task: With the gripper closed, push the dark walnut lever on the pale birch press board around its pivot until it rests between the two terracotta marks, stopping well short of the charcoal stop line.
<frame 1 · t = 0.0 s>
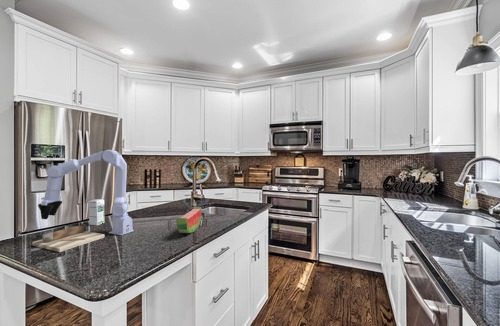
hand: (48, 217, 117), 11 cm above the counter, tool pointing down, fingers open, 7 cm apart
press board: (70, 241, 114), on the counter
lever: (65, 232, 115), point 4 cm above the counter, hinge at 0.0°
fruit slice: (190, 230, 131), on the counter
syrup box: (97, 224, 143), on the counter
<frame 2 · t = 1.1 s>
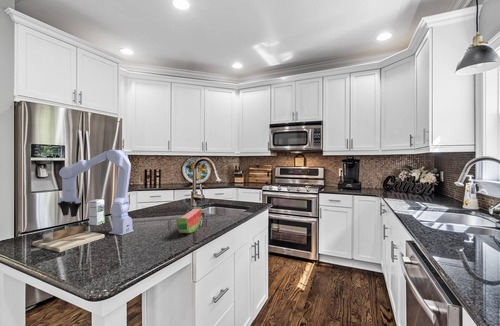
hand: (69, 215, 124), 9 cm above the counter, tool pointing down, fingers open, 6 cm apart
nothing on the counter moved.
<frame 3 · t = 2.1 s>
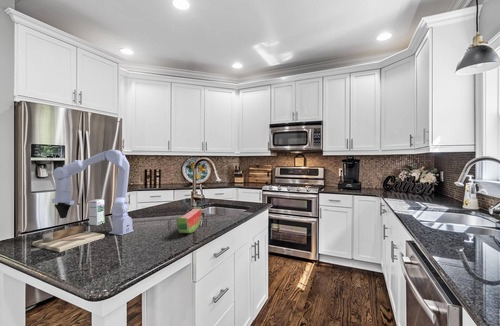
hand: (63, 217, 120), 9 cm above the counter, tool pointing down, fingers closed
nothing on the counter moved.
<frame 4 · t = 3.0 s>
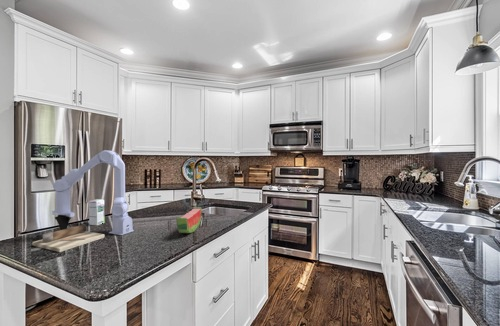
hand: (63, 229, 120), 3 cm above the counter, tool pointing down, fingers closed
nothing on the counter moved.
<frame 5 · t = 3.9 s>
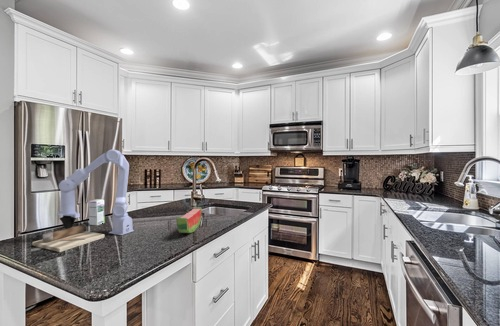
hand: (68, 230, 119), 3 cm above the counter, tool pointing down, fingers closed, pressing on lever
lever: (65, 232, 115), point 4 cm above the counter, hinge at 0.0°, touching gripper
everything else where it was.
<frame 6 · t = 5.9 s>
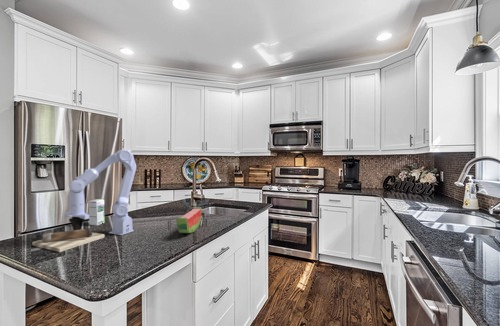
hand: (77, 232, 116), 3 cm above the counter, tool pointing down, fingers closed
lever: (68, 234, 112), point 4 cm above the counter, hinge at 38.6°, touching gripper
everything else where it was.
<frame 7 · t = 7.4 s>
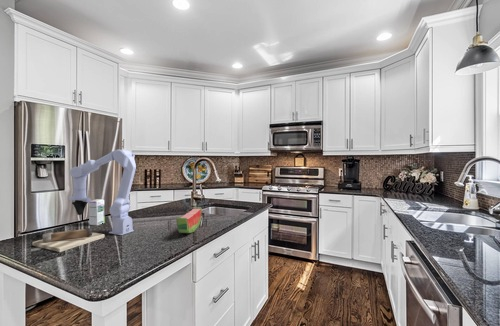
hand: (80, 214, 127), 9 cm above the counter, tool pointing down, fingers closed
lever: (68, 234, 112), point 4 cm above the counter, hinge at 38.6°
everything else where it was.
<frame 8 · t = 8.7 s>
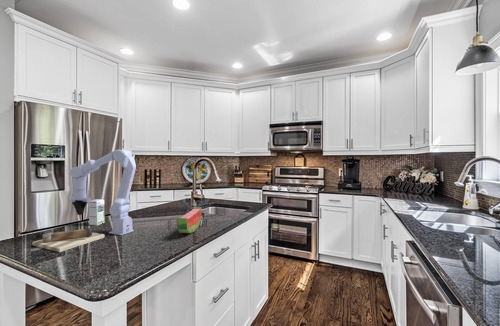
hand: (80, 214, 127), 9 cm above the counter, tool pointing down, fingers closed
nothing on the counter moved.
at the end: lever at +39° (first picture: +0°); syrup box moved 0.2 cm from its start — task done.
